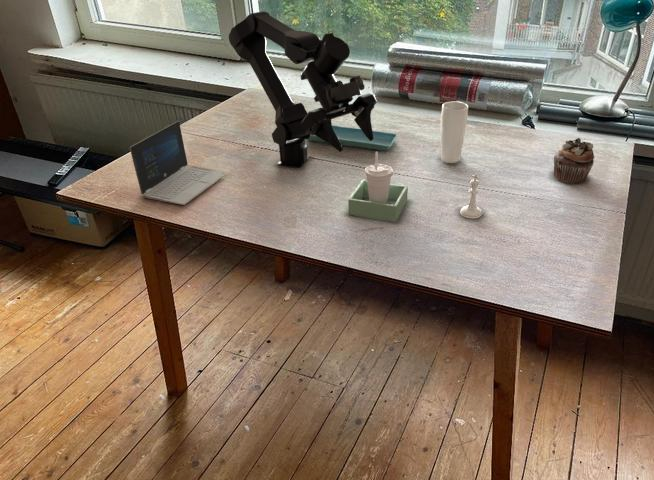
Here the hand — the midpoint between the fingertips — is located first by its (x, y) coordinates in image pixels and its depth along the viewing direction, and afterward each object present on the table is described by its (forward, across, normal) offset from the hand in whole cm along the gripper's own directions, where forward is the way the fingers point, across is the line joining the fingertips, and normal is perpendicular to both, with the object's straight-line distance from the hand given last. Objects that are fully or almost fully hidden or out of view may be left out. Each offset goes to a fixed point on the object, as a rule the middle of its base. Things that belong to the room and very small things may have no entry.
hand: (357, 145), depth 129 cm
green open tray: (+14, 0, +4) cm, 15 cm away
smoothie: (+15, 0, +4) cm, 15 cm away
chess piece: (+26, +14, -7) cm, 30 cm away
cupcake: (+30, +47, -11) cm, 57 cm away
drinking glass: (+10, +32, +9) cm, 35 cm away
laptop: (-14, -28, +33) cm, 45 cm away
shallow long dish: (-10, +21, +28) cm, 36 cm away
